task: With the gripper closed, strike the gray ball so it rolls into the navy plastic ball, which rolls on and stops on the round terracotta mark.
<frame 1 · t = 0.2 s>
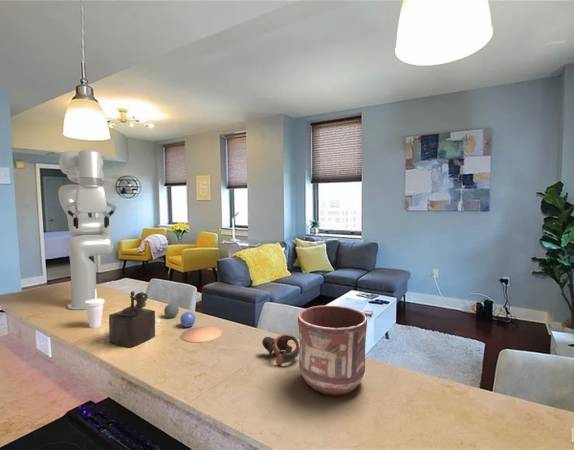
hand: (91, 228, 125), 36 cm above the breakfast bar, tool pointing down, fingers open, 9 cm apart
gray ball: (171, 310, 132), on the breakfast bar
pottery: (330, 384, 84), on the breakfast bar
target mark: (201, 334, 115), on the breakfast bar
brown curved piece: (280, 359, 98), on the breakfast bar
smoothie: (95, 326, 122), on the breakfast bar
brown coffee grinder: (137, 341, 109), on the breakfast bar
object ball: (188, 319, 122), on the breakfast bar
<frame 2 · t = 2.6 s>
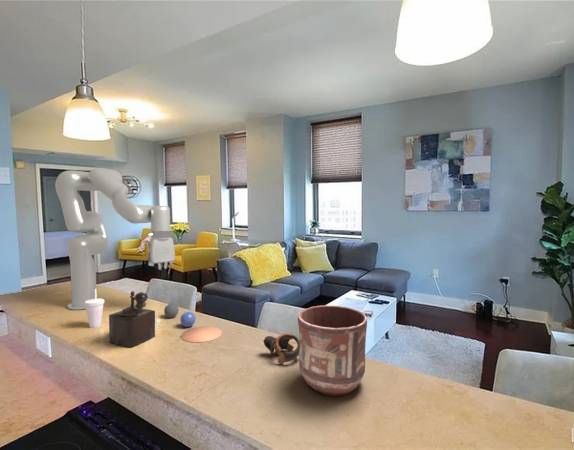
hand: (161, 278, 138), 14 cm above the breakfast bar, tool pointing down, fingers closed
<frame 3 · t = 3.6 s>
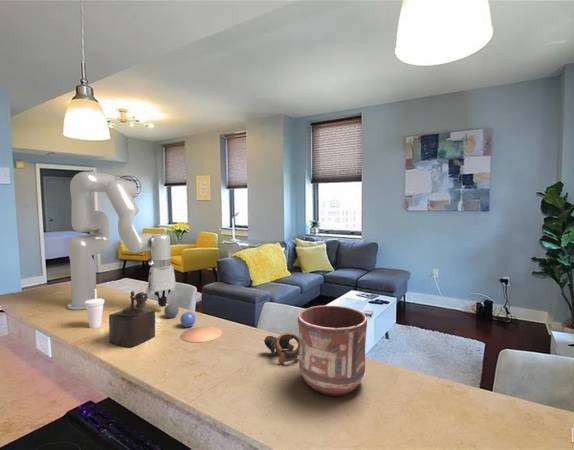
hand: (162, 305, 139), 3 cm above the breakfast bar, tool pointing down, fingers closed
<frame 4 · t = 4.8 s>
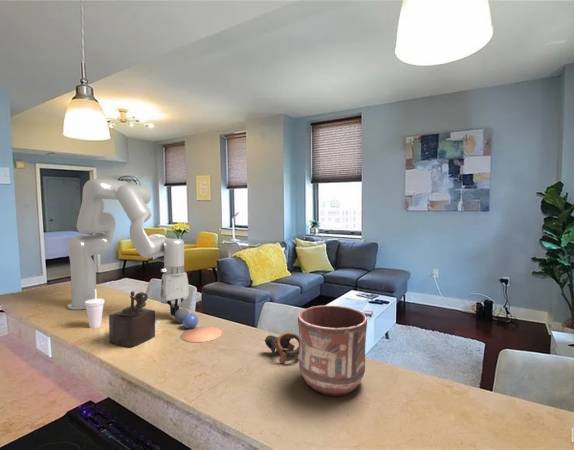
hand: (174, 315, 130), 2 cm above the breakfast bar, tool pointing down, fingers closed
gray ball: (182, 315, 126), on the breakfast bar
object ball: (190, 320, 121), on the breakfast bar
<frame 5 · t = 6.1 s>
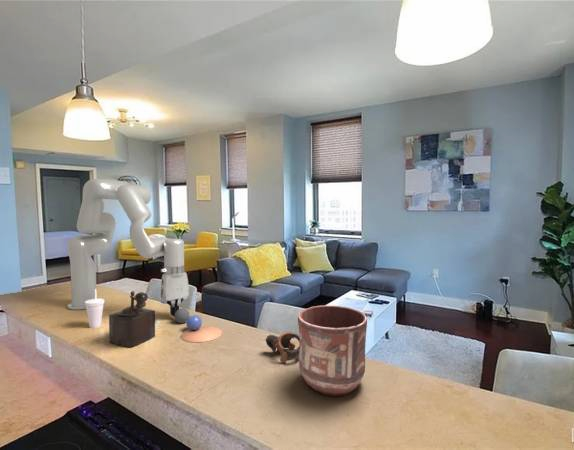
hand: (174, 315, 130), 2 cm above the breakfast bar, tool pointing down, fingers closed
object ball: (194, 322, 119), on the breakfast bar
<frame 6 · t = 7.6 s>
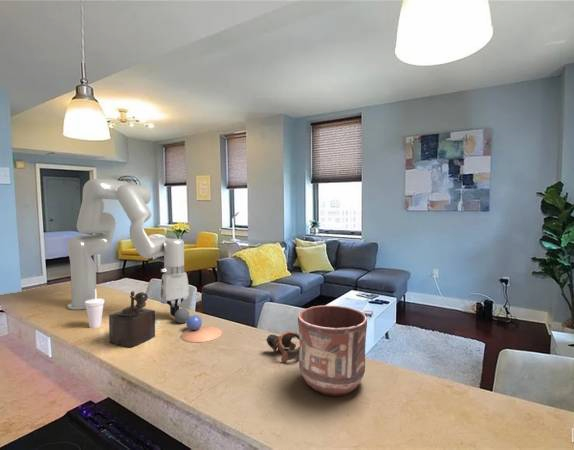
hand: (174, 315, 130), 2 cm above the breakfast bar, tool pointing down, fingers closed
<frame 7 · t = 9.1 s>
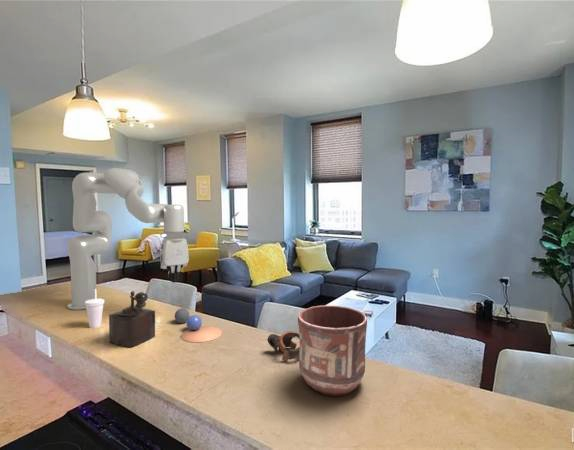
hand: (174, 281, 129), 15 cm above the breakfast bar, tool pointing down, fingers closed
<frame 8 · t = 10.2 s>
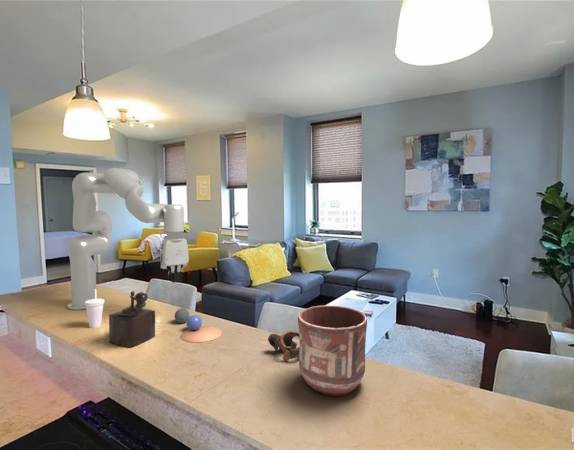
hand: (174, 281, 129), 15 cm above the breakfast bar, tool pointing down, fingers closed
at the end: object ball 5.3 cm from the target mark (horizontally); object ball never touched the robot; gray ball first touched object ball at 4.5 s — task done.
